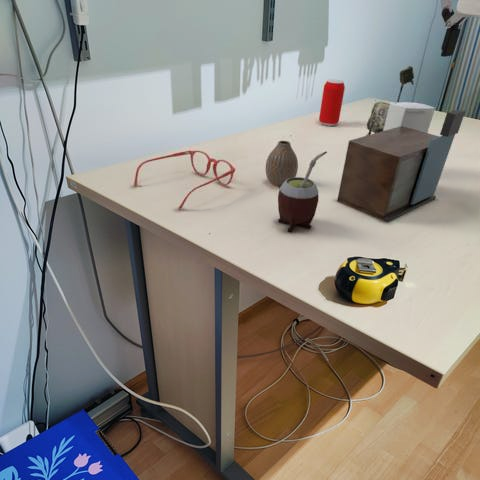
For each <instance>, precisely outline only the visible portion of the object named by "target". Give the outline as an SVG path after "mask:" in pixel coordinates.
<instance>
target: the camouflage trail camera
mask: <svg viewBox="0 0 480 480" xmlns="http://www.w3.org/2000/svg"><path fill="white" fill-rule="evenodd" d="M414 79H415V73H414V67H413V66H411V65H409V66H407V67H404V68H403V69H401V70H400V71H399V82H400V84H401V85H400V88H399V93H398V97H397V100H396V103H397V102H400V99H401V95H402V92H403V88H404V85H407V84H408V83H409V84H410V83H411V85H412V86H413V85H414V84H415V83H414ZM374 101H375V103H374V104H373V106H372V110H371V112H370V116H369V118H368V120H367V122H366V128H367V130H368V133H367V134H366V135H365V136H367V135H371V134H372V133H373V134H375V133H378V132H382V131H383V129H384V125H385V121H386V117H387V113H388V109H389V105H390V103H389V102H385V101H377V99H376V100H374ZM376 101H377V102H376Z"/></svg>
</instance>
